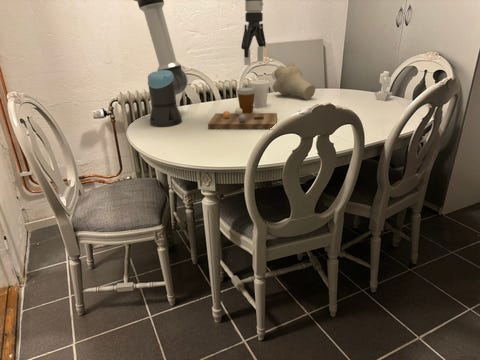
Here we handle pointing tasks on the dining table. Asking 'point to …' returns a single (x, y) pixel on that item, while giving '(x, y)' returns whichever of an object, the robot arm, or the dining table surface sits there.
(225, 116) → the ball
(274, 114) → the board
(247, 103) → the disposable coffee cup
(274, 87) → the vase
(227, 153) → the dining table surface
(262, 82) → the foam cup
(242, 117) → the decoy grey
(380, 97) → the figurine
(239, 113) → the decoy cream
